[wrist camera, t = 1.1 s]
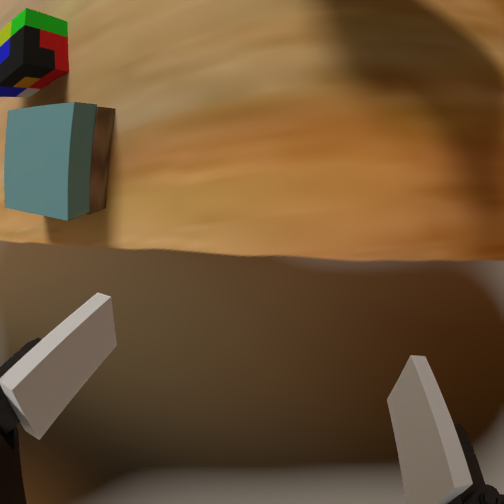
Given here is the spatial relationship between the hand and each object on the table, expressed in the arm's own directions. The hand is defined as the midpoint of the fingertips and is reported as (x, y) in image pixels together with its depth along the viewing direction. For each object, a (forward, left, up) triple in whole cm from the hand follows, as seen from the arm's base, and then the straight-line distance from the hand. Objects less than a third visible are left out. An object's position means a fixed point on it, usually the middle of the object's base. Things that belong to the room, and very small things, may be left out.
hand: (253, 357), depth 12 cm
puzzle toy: (-19, -42, -26) cm, 53 cm away
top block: (-4, -32, -22) cm, 39 cm away
